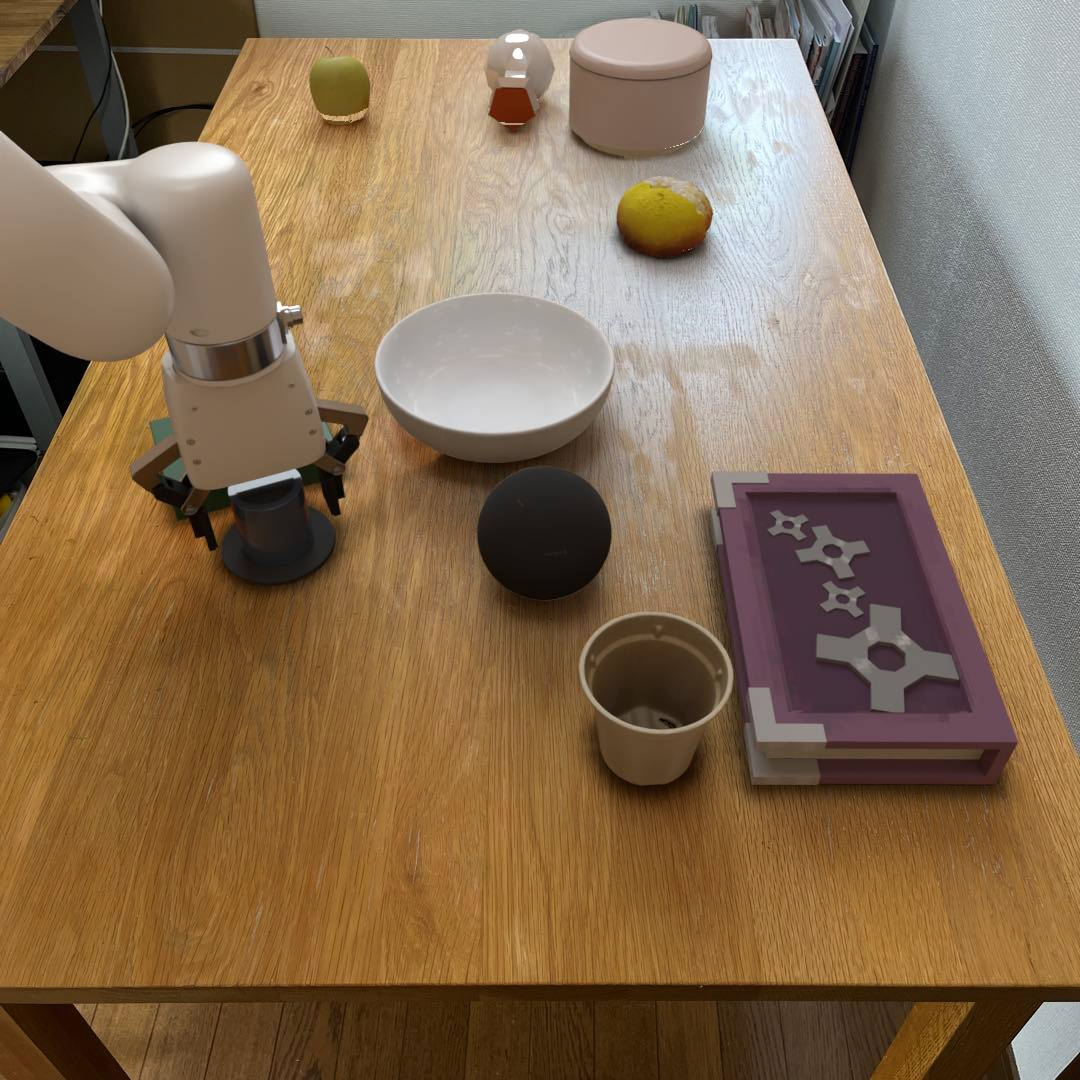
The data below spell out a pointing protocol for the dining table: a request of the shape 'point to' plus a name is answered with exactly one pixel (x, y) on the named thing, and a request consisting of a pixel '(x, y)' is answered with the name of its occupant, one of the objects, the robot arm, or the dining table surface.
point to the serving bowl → (495, 375)
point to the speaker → (544, 533)
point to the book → (852, 634)
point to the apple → (339, 87)
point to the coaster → (280, 574)
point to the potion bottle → (517, 76)
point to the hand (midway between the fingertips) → (272, 521)
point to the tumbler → (273, 518)
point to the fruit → (663, 217)
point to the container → (638, 86)
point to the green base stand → (220, 496)
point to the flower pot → (653, 692)
